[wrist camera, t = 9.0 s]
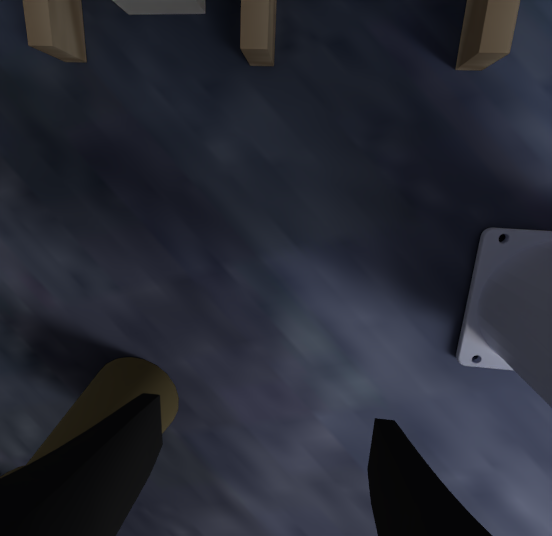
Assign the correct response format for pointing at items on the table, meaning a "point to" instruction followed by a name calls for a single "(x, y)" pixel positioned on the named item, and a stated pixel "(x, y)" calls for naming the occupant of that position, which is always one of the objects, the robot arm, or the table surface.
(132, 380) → the cork
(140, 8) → the plug
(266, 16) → the socket board
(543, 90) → the table surface
